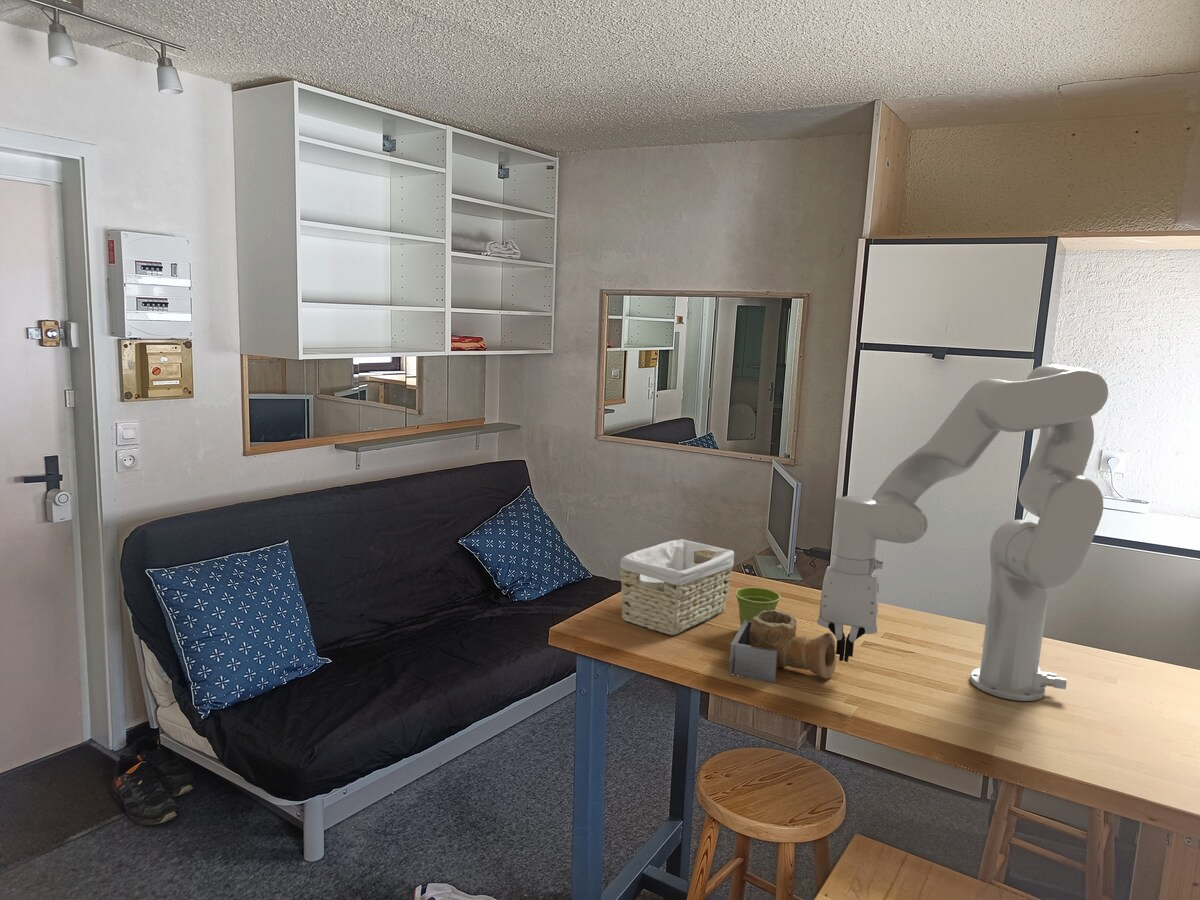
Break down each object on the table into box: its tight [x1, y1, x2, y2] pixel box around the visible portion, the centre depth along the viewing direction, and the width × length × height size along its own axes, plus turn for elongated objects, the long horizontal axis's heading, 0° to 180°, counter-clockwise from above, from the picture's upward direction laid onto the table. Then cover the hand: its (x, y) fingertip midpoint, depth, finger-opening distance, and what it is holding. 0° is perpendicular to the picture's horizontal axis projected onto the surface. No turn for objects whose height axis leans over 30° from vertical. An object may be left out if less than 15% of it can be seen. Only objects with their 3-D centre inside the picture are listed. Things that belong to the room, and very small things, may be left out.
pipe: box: [749, 609, 837, 680], centre depth 158 cm, size 9×16×10 cm, turn 64°
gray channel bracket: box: [728, 620, 778, 684], centre depth 160 cm, size 8×14×6 cm, turn 160°
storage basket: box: [619, 538, 735, 636], centre depth 183 cm, size 24×16×15 cm
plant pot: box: [734, 586, 782, 627], centre depth 176 cm, size 9×9×9 cm
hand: (843, 658), depth 155 cm, fingers closed
